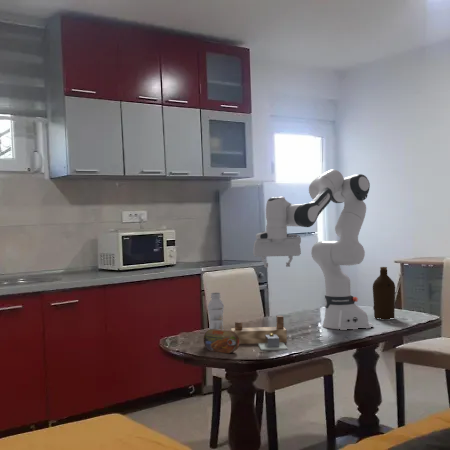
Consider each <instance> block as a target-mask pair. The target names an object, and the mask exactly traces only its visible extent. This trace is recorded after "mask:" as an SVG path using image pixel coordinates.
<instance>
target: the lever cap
mask: <svg viewBox="0 0 450 450" xmlns="http://www.w3.org/2000/svg"><path fill="white" fill-rule="evenodd" d="M265 344H266V345H267V347H268V348H274V347H279V337H278V336H277V335H274V334H273V333H270V334H269V335H265Z"/></svg>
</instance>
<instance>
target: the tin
mask: <svg viewBox="0 0 450 450" xmlns="http://www.w3.org/2000/svg"><path fill="white" fill-rule="evenodd" d="M203 343H204V344H203V345H204V346H205V348H206V349H207V350H209V351H210V352H214V351H215V352H217V353H222V354H230V353H234V352H236V351H237V350H238V349H239V347H240V344H239V337H238V335H237V334H236V333H235V332H234V331H231V329H229V330H228V329H223V330H220V329H210V330H209V329H207V330H206V331H205V333H204V335H203Z"/></svg>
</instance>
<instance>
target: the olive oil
mask: <svg viewBox="0 0 450 450" xmlns="http://www.w3.org/2000/svg"><path fill="white" fill-rule="evenodd" d="M379 269H380V270H379V276H378V277H376V279H375V280H374V282H373V283H372V301H373V306H372V309H373V315H374V317H375V318H381V319H390V318H394V319H395V311H396V310H395V307H396V304H395V302H396V284H395V282H394V281H393V279H392V278H391V277H390V276H389V275H388V267H387V266H380V267H379ZM375 318H374V319H375Z"/></svg>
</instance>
